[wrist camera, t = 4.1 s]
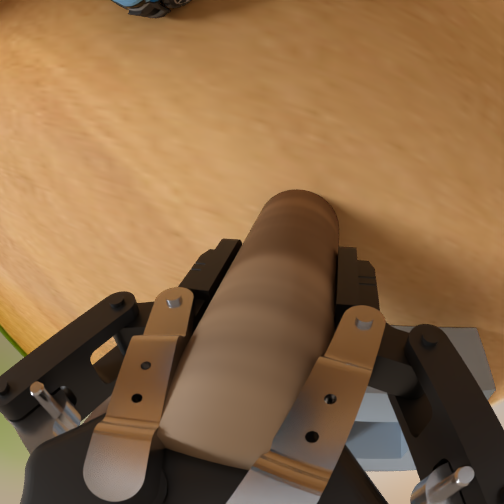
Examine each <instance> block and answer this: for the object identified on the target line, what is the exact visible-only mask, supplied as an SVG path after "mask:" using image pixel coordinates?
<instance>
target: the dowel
mask: <svg viewBox="0 0 504 504" xmlns="http://www.w3.org/2000/svg"><path fill="white" fill-rule="evenodd" d="M338 246H339V224H338V219H337V216H336V214H335V212H334V210H333V208H332V207H331V206H330V205H329V203H328V202H327V201H325V200H324V199H323V198H322V197H320V196H318V195H317V194H315V193H312V192H309V191H305V190H288V191H284V192H281V193H279V194H277V195H275V196H274V197H272V198H271V199H270V200H269V201H268V202H267V203H266V204H265V206H264V207H263V209H262V211H261V213H260V214H259V216H258V218H257V220H256V221H255V223H254V225H253V227H252V229H251V230H250V232H249V234H248V236H247V237H246V239H245V241H244V243H243V245H242V246H241V248H240V250H239V252H238V253H237V255H236V257H235V259H234V261H233V262H232V264H231V266H230V268H229V270H228V271H227V273H226V275H225V277H224V279H223V280H222V282H221V284H220V286H219V288H218V289H217V291H216V293H215V295H214V297H213V298H212V300H211V302H210V304H209V306H208V307H207V309H206V311H205V313H204V315H203V316H202V318H201V320H200V322H199V324H198V326H197V327H196V329H195V331H194V333H193V335H192V336H191V338H190V340H189V342H188V344H187V346H186V348H185V350H184V352H183V354H182V356H181V358H180V361H179V364H178V366H177V369H176V371H175V374H174V377H173V380H172V383H171V386H170V390H169V393H168V396H167V399H166V403H165V406H164V410H163V413H162V417H161V420H160V424H159V428H158V432H157V436H158V437H159V439H160V440H161V441H162V443H163V444H164V445H165V448H167V449H170V450H173V451H176V452H180V453H183V454H186V455H189V456H193V457H196V458H200V459H203V460H207V461H211V462H215V463H219V464H223V465H227V466H231V467H236V468H240V469H245V470H250V469H251V467H252V466H253V464H254V463H255V462H256V461H257V459H258V458H259V457H260V456H261V455H263V454H266V453H268V452H269V451H270V449H271V445H272V441H273V438H274V437H275V435H276V433H277V432H278V430H279V428H280V427H281V425H282V423H283V422H284V420H285V418H286V417H287V415H288V413H289V411H290V410H291V408H292V406H293V404H294V402H295V401H296V399H297V397H298V395H299V393H300V392H301V390H302V388H303V386H304V384H305V382H306V380H307V379H308V377H309V375H310V373H311V371H312V369H313V367H314V365H315V363H316V361H317V360H318V358H319V357H320V356H321V355H322V356H324V355H325V353H326V351H327V349H328V347H329V345H330V343H331V341H332V338H333V336H334V334H335V320H334V318H335V302H336V282H337V255H338Z"/></svg>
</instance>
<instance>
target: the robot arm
mask: <svg viewBox="0 0 504 504" xmlns="http://www.w3.org/2000/svg"><path fill="white" fill-rule="evenodd" d="M241 246H242V242H241V240H237V239H222V240H221V241H220V243H219V244H218V246H217V247H216V249H215V250H213V249H210V250H208V251H207V252H205V253H204V254H202V255H201V256H200V257H199V259H198V260H197V261H196V264H194V265H193V267H192V269H191V270H190V271H189V272H188V274H187V275H186V277H185V278H184V279H183V281H182V282H181V284H180V285H179V286H178V287H174V288H170V289H167V290H165V291H163V292H161V293H160V294H159V295H158V296H157V297H156V299H155V302H146V303H137V302H136V299H135V297H134V295H133V294H132V293H130V292H117V293H114V294H112V295H110V296H108V297H107V298H105V299H104V300H102V301H101V302H99V303H98V304H97V305H95V306H94V307H92V308H91V309H90V310H88V311H87V312H85V313H84V314H83V315H81V316H80V317H78V318H77V319H76V320H74V321H73V322H71V323H70V324H69V325H67V326H66V327H65V328H63V329H62V330H60V331H59V332H58V333H56V334H55V335H54V336H52V337H51V338H50V339H48V340H47V341H46V342H44V343H43V344H41V345H40V346H39V347H38V348H36V349H35V350H34V351H32V352H31V353H30V354H28V355H27V356H26V357H24V358H23V359H22V360H20V361H19V362H18V363H17V364H15V365H14V366H13V367H11V368H10V369H9V370H8V371H6V372H5V373H4V374H2V375H1V376H0V412H1V413H2V414H3V415H4V417H5V418H6V419H7V420H8V421H9V422H10V423H11V424H12V425H13V426H14V427H15V429H16V431H17V433H18V434H19V436H20V438H21V440H22V442H23V443H24V445H25V447H26V448H27V450H28V451H29V453H30V457H29V459H28V461H27V464H26V468H25V482H24V489H23V494H22V498H21V502H20V504H388V503H387V501H386V500H385V499H384V497H383V496H382V495H381V493H380V492H379V490H378V489H377V488H376V486H375V485H374V484H373V482H372V481H371V480H370V478H369V477H368V475H367V474H366V472H365V471H364V470H363V468H362V467H361V465H360V464H359V463H358V461H357V460H356V458H355V457H354V455H353V454H352V453H351V451H350V450H349V448H348V447H347V446H346V444H345V443H346V441H347V438H348V436H349V434H350V431H351V429H352V426H353V424H354V421H355V418H356V416H357V413H358V411H359V408H360V405H361V403H362V400H363V397H364V394H365V391H366V388H367V386H369V387H372V388H375V389H378V390H381V391H384V392H387V395H388V398H389V401H390V403H391V405H392V408H393V410H394V413H395V415H396V418H397V420H398V422H399V425H400V427H401V430H402V433H403V435H404V438H405V440H406V443H407V445H408V448H409V451H410V453H411V456H412V459H413V461H414V464H415V467H416V470H417V472H418V475H419V478H420V482H419V483H418V484H417V485H416V486H415V488H414V490H413V491H412V494H411V499H410V502H411V504H504V430H503V428H502V426H501V424H500V422H499V420H498V418H497V416H496V415H495V413H494V411H493V409H492V407H491V406H490V404H489V402H488V400H487V398H486V397H485V395H484V393H483V392H482V390H481V388H480V386H479V385H478V383H477V381H476V380H475V378H474V377H473V375H472V373H471V372H470V370H469V368H468V367H467V365H466V364H465V362H464V361H463V359H462V357H461V356H460V354H459V353H458V351H457V350H456V348H455V347H454V345H453V344H452V342H451V341H450V339H449V338H448V336H447V335H446V334H445V332H444V331H442V330H441V329H440V328H438V327H436V326H433V325H429V324H422V325H418V326H415V327H414V328H413V329H412V330H411V331H410V333H409V332H406V331H402V330H399V329H396V328H394V327H392V326H390V325H389V324H388V323H386V320H385V317H384V316H383V314H382V313H381V312H380V308H379V299H378V291H377V283H376V276H375V269H374V267H373V266H372V265H371V264H370V262H369V261H361V260H357V250H356V248H354V247H340V246H338V255H337V282H336V302H335V318H334V320H335V334H334V336H333V338H332V341H331V343H330V345H329V347H328V349H327V351H326V353H325V355H324V356H322V355H321V356H320V357H319V358H318V360H317V361H316V363H315V365H314V367H313V369H312V371H311V373H310V375H309V377H308V379H307V380H306V382H305V384H304V386H303V388H302V390H301V392H300V393H299V395H298V397H297V399H296V401H295V402H294V404H293V406H292V408H291V410H290V411H289V413H288V415H287V417H286V418H285V420H284V422H283V423H282V425H281V427H280V428H279V430H278V432H277V433H276V435H275V437H274V438H273V441H272V445H271V449H270V451H269V452H268V453H266V454H263V455H261V456H260V457H259V458H258V459H257V461H256V462H255V463H254V464H253V466H252V467H251V469H250V470H245V469H240V468H236V467H231V466H227V465H223V464H219V463H215V462H211V461H207V460H203V459H200V458H196V457H193V456H189V455H186V454H183V453H180V452H176V451H173V450H170V449H167V448H165V445H164V444H163V443H162V441H161V440H160V439H159V437H158V436H157V432H158V428H159V424H160V420H161V417H162V413H163V410H164V406H165V403H166V399H167V396H168V393H169V390H170V386H171V383H172V380H173V377H174V374H175V371H176V369H177V366H178V364H179V361H180V358H181V356H182V354H183V352H184V350H185V348H186V346H187V344H188V342H189V340H190V338H191V336H192V335H193V333H194V331H195V329H196V327H197V326H198V324H199V322H200V320H201V318H202V316H203V315H204V313H205V311H206V309H207V307H208V306H209V304H210V302H211V300H212V298H213V297H214V295H215V293H216V291H217V289H218V288H219V286H220V284H221V282H222V280H223V279H224V277H225V275H226V273H227V271H228V270H229V268H230V266H231V264H232V262H233V261H234V259H235V257H236V255H237V253H238V252H239V250H240V248H241ZM111 337H114V339H115V341H116V343H117V346H116V347H114V348H113V349H112V350H111V351H109V352H108V353H107V354H106V355H104V356H103V357H102V358H101V359H100V360H98V361H97V362H96V363H95V364H93V365H92V364H91V361H90V357H91V355H92V353H93V352H94V351H95V350H96V349H97V348H99V347H100V346H101V345H102V344H104V343H105V342H106V341H107V340H109V339H110V338H111ZM111 395H112V396H111ZM110 396H111V399H110V402H109V405H108V409H107V412H106V413H104V414H102V415H100V416H98V417H96V418H94V419H92V420H90V421H88V422H86V423H84V424H82V425H80V422H81V421H82V420H83V419H84V418H85V417H87V416H88V415H89V414H90V413H91V412H92V411H94V410H95V409H96V408H97V407H98V406H99V405H100V404H102V403H103V402H104V401H105V400H106V399H107V398H109V397H110ZM79 425H80V426H79Z"/></svg>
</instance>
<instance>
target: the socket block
mask: <svg viewBox="0 0 504 504" xmlns="http://www.w3.org/2000/svg"><path fill="white" fill-rule="evenodd" d="M392 327H394V328H396V329H399V330H402V331H406V332H409V333H410V331H411V330H412V329H413V328H414V327H412V326H392ZM438 328H440V329H441V330H442V331H444V332H445V334H446V335H447V336H448V338H449V339H450V341H451V342H452V344H453V345H454V347H455V348H456V350H457V351H458V353H459V354H460V356H461V357H462V359H463V361H464V362H465V364H466V365H467V367H468V368H469V370H470V372H471V373H472V375H473V377H474V378H475V380H476V381H477V383H478V385H479V386H480V388H481V390H482V392H483V393H484V395H485V397H486V398H487V400H488V399H489V398H490V397H491V395H492V394H493V393H494V391H495V390H496V388H495V384H494V380H493V377H492V373H491V370H490V367H489V364H488V360H487V357H486V354H485V351H484V348H483V345H482V342H481V339H480V337H479V334H478V331H477V328H445V327H438ZM345 444H346V446H347V447H348V448H349V450H350V451H351V453H352V454H353V455H354V457H355V458H356V460H357V461H358V463H359V464H360V465H361V467H362V468H363V470H364V471H406V470H416V467H415V464H414V461H413V459H412V456H411V453H410V451H409V448H408V445H407V443H406V440H405V438H404V435H403V433H402V430H401V427H400V425H399V422H398V420H397V418H396V415H395V413H394V410H393V408H392V405H391V403H390V401H389V398H388V395H387V392H384V391H381V390H378V389H375V388H372V387H369V386H367V388H366V391H365V394H364V397H363V400H362V403H361V405H360V408H359V411H358V413H357V416H356V418H355V421H354V424H353V426H352V429H351V431H350V434H349V436H348V438H347V441H346V443H345Z"/></svg>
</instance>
